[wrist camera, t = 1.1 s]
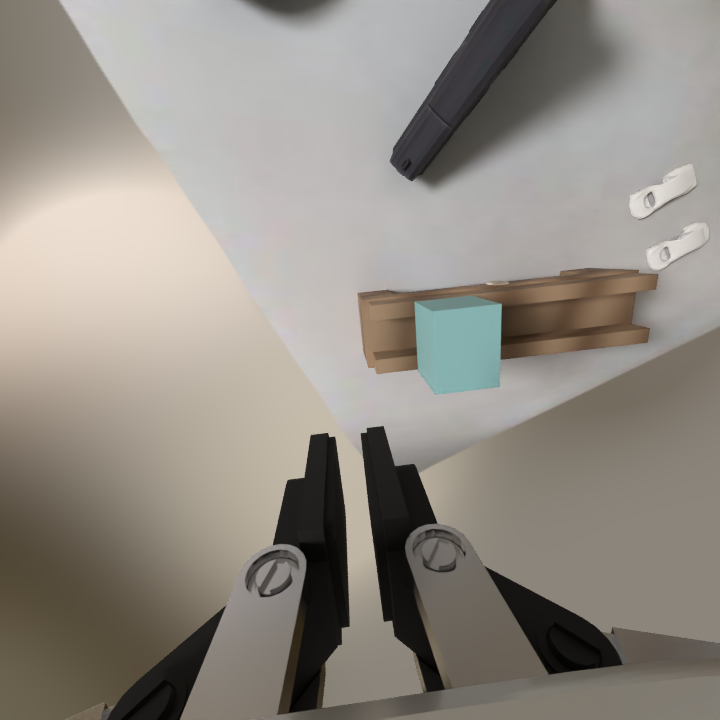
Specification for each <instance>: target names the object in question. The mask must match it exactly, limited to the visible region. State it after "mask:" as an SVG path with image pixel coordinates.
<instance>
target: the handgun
mask: <svg viewBox="0 0 720 720" xmlns="http://www.w3.org/2000/svg"><path fill="white" fill-rule="evenodd" d="M556 1H557V0H490V1H489V3H488V4H487V6H486V7H485V9H484V10H483V11H482V12H481V14H480V15H479V17H478V18H477V20H476V21H475V23H474V24H473V26H472V27H471V29H470V31H469V34H468V35H467V37H466V38H465V40H464V41H463V43H462V44H461V46H460V47H459V49H458V50H457V51H456V52H455V54H454V55H453V56H452V58H451V60H450V61H449V63H448V64H447V66H446V67H445V69H444V70H443V72H442V73H441V75H440V76H439V78H438V79H437V81H436V82H435V85H434V87H433V88H432V90H431V92H430V93H429V95H428V96H427V98H426V99H425V101H424V102H423V104H422V105H421V107H420V108H419V110H418V111H417V113H416V114H415V116H414V117H413V119H412V120H411V122H410V123H409V125H408V127H407V128H406V130H405V131H404V133H403V134H402V136H401V137H400V139H399V140H398V142H397V143H396V145H395V146H394V148H393V154H392V157H391V159H390V162H391V164H392V165H393V166H394V167H395V168H396V169H397V171H398V172H399V173H400V174H402V175H403V176H405V177H406V178H407V179H409V180H411V181H413V180H414V179H415V178H416V177H417V176H419V175H422V174H423V172H424V171H425V170H426V169H427V167H428V166H429V165H430V163H431V162H432V161H433V159H434V158H435V157H436V156H437V154H438V153H439V152H440V150H441V149H442V148H443V146H444V145H445V144H446V143H447V141H448V140H449V139H450V137H451V136H452V135H453V133H454V132H455V131H456V130H457V128H458V127H459V126H460V124H461V123H462V122H463V120H464V119H465V118H466V117H467V116H468V115H469V114H470V112H471V111H472V110H473V109H474V107H475V106H476V105H477V103H478V102H479V101H480V100H481V98H482V97H483V96H484V94H485V93H486V92H487V90H488V89H489V87H490V85H491V84H492V83H493V82H494V80H495V79H496V78H497V76H498V75H499V74H500V72H501V71H502V70H503V69H504V68H505V67H506V66H507V65H508V63H509V62H510V61H511V59H512V58H513V57H514V55H515V54H516V53H517V52H518V50H519V48H520V47H521V46H522V44H523V43H524V42H525V40H526V39H527V38H528V36H529V35H530V34H531V33H532V31H533V30H534V29H535V27H536V26H537V25H538V24H539V22H540V21H541V20H542V18H543V17H544V16H545V14H546V13H547V12H548V11H549V9H550V8H551V7H552V6H553V5H554V3H555V2H556Z"/></svg>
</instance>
